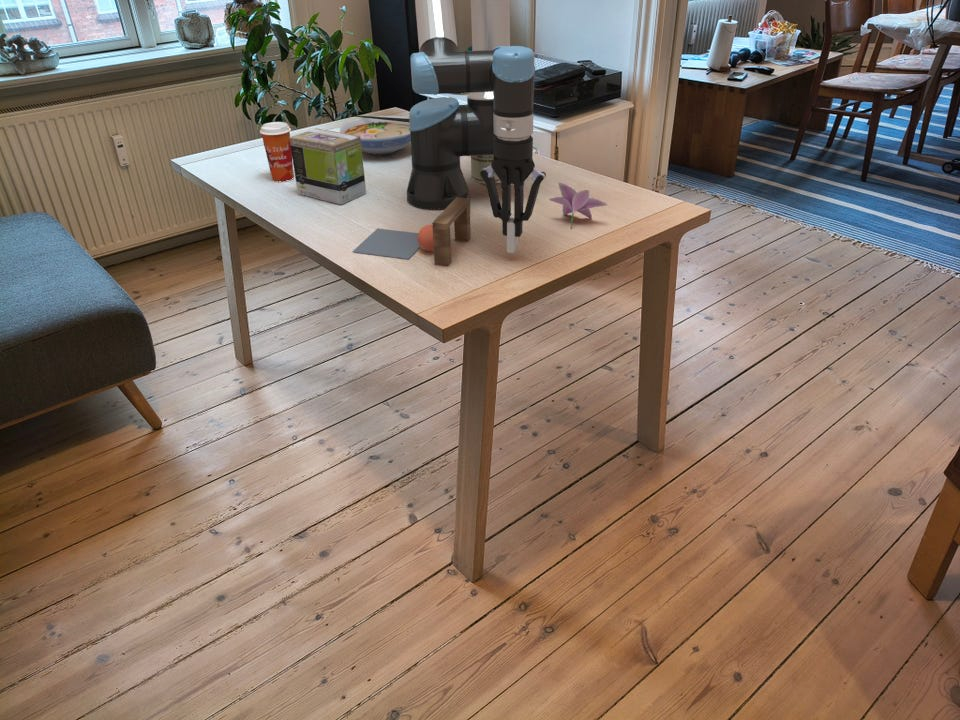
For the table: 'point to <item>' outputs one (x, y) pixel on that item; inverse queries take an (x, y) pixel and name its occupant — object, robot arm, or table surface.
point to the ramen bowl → (379, 133)
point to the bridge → (441, 229)
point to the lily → (576, 201)
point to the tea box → (328, 165)
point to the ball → (426, 238)
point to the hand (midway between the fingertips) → (512, 249)
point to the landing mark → (390, 244)
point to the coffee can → (481, 167)
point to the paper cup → (278, 150)
